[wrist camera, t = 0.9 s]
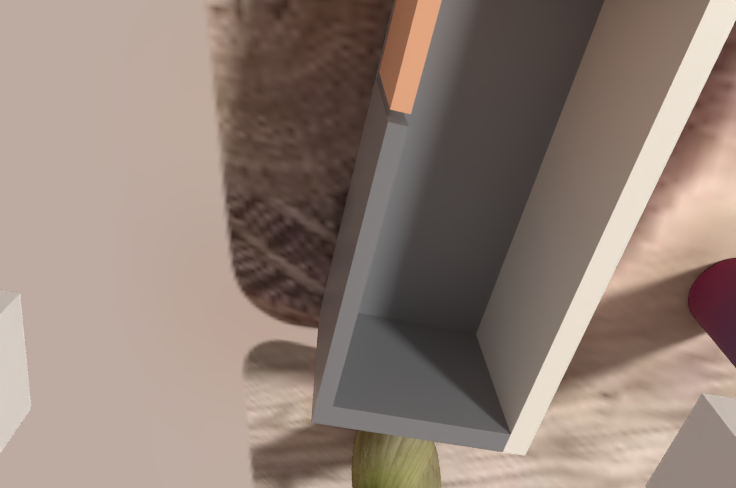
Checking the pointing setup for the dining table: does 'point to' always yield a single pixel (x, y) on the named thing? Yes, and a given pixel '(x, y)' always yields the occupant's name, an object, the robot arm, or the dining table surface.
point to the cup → (717, 305)
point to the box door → (407, 51)
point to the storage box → (501, 210)
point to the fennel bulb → (394, 462)
